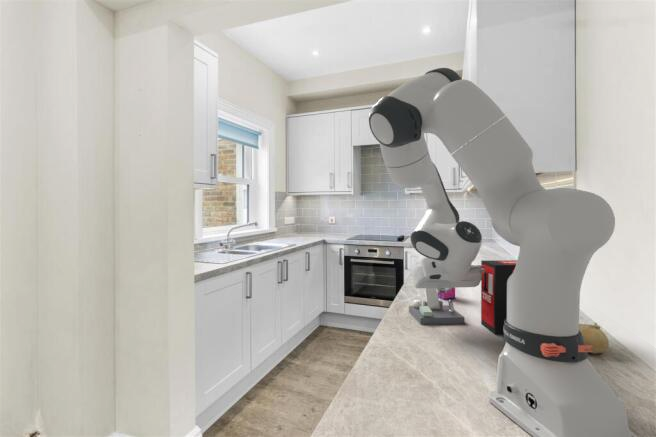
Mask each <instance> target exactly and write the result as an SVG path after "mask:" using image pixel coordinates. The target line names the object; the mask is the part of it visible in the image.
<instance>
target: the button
mask: <svg viewBox="0 0 656 437" xmlns="http://www.w3.org/2000/svg"><path fill="white" fill-rule="evenodd" d="M412 303H413V305H412V306H413V307H416V308H420V306H423V305H422V304H423V301H422V300H421V299H413V302H412Z"/></svg>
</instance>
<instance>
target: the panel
mask: <svg viewBox="0 0 656 437" xmlns="http://www.w3.org/2000/svg"><path fill="white" fill-rule="evenodd" d="M422 304H423V305H422V306H427V302H426V300H423V301H422ZM439 305H440V309H431V311H432V316H423V315H422V313H421V312H420V310H419V309H420V308H416V307H413V305H409V306H408V312H409V313H410V314H411V316H412V317H413V318H414V319H415V320H416V321H417V323H419V325H455V324H456V325H457V324H459V325H460V324H464V325H465V322H466V321H465V316H463V315H462V314H461V313H459V312H458V311H457V310H455V311H456V313H449V304H448V305H447V304H444V303H443V301H442V300H439Z"/></svg>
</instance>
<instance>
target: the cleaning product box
mask: <svg viewBox="0 0 656 437" xmlns="http://www.w3.org/2000/svg"><path fill="white" fill-rule="evenodd" d="M517 260H518V259H517ZM517 260H481V262H480V263H481V264H480V265H481V266H483V267H485V271H484V273H483V274H482V278H481V281H480V287H481V289H480V290H481V291H480V294H481V295H480V298H481V299H480V301H481V302H480V305H481V306H480V307H481V308H480V319H481V320H480V325H481V326H483V327H485V329H486V330H488V331H489V332H491V333H492V334H494V335H495V336H504V331H503V327H504V321H505V319H507V280H508V278H509V277H510V276H511V275H512V273H513V272H514V269H515V266H516V263H517Z"/></svg>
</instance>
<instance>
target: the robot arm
mask: <svg viewBox="0 0 656 437" xmlns="http://www.w3.org/2000/svg"><path fill="white" fill-rule="evenodd" d="M368 123H369V129H370V132H371V133H372V135H373V137H374V138H375V140H377V142H378V143H379V147H380V151H381V156H382V158H383V162H384V165H385V166H384V167H385V168H386V171H387V174H388V176H389V178H390V179H391V181H392V183H393V184H394V185H396V186H398V187H400V188H402V189H418V188H419V189H420V190H421V193H422V195H423V198H424V199H425V202H426V207H425V208H426V209H425V212H424V213H423V215H422V217H421V219H420V220H419V222H418V223H417V224H416V226H415V228H414V229H413V231H412V233H411V234H410V243H411V245H412V247H413V248H414V250H415V251H416V252H417V253H418V254H420V255H422V256H423V258H421V260H420V265H418V267H416V269H415V271H414V273H413V276H412V282H413V286H414V288H416V289H424V288H436V291H437V293H447V291H448V290H450V289H452V288H455V289H456V288H477V287H478V286H479V285H481V278H482V274H483V273H484V271H485V267H483V266H481V264H475V265H474V264H472V263H473V262H474V261H475V260H476V258H477V256H478V254H479V252H480V249H481V247H482V243H483V235H482V233H481V231H480V230H479V228H478V227H477V226H476V225H475V224H474V223H472V222H470V221H465V220H464V221H463V220H461V219H460V214H459V211H458V210H457V208H456V207H455V205H453V203H452V202H451V199H450V198H449V196H448V194H447V193H448V192H447V190H446V187H445V185H444V183H443V180H442V176H441V175H440V173H439V170H438V167H437V166H436V164H435V163H433V161H432V158H431V156H430V155H431V154H430V151H429V148H428V146H427V142H426V139H425V134H432V135H435V136H436V137H437V138H438V139H439V140H440V141H441V142H442V144H443V146H445V148H446V150H447V151H448V153H449V154H450V155H451V157H452V158H453V159H454V161H455V162H456V163H457V165H458V166H459V167H460V169H461V170H462V172H464V174H465V175H466V177H467V178H468V179H469V181H470V182H471V184H472V185H473V186H474V188H475V190H476V191H477V193H478V195H479V197H480V199H481V201H482V203H483V205H484V207H485V209H486V211H487V214H488V215H489V217H490V220H491V226H492V228H493V230H494V232H496V234H497V235H498V236H500V238H502V239H503V240H505V241H506V242H507V243H509V244H511V245H514V246H517V247H519V252H518V256H517V263H516V266H515V269H514V272H513V273H512V275H511V276H510V277H509V278H508V280H507V319H505V321H504V327H503V331H504V335H503V339H504V341H505V344H504V346H503V349H502V350H501V352H500V354H499V355H498V358H497V359H498V360H497V365H496V366H497V367H496V368H497V369H496V379H495V387H494V388H495V389H494V390H493V391H492V392H491V393H489V397H488V401H489V403H491V404H492V406H495V408H496V409H498V410H499V411H501V412H502V413H503V414H504V415H506V416H507V417H508V418H510V419H511V420H512V421H513V422H515V424H517V425H518V426H519V427H520V428H521V429H523V430H524V431H525V432H527V433H528V434H529V435H531V436H532V437H638V436H637V435H636V434H635V433H634V432H633V431H632V430H631V429H630V428H629V419H628V415H627V414H628V413H627V410H626V408H625V405H624V403H623V402H622V401H621V400H620V397H619V393H618V392H617V389H615V388H614V387H613V386H610V385H609V384H608V383H607V382H606V381H605V379H604V378H603V377H602V375H601V374H600V373H599V372H598V370H597V369H596V368H595V366H594V365H593V364H592V363H591V361H590V360H589V352H593V351H591V350H587V349H588V348H591V347H593V346H592V345H585V342H584V339H583V336H582V333H581V331H580V330H579V324H580V306H581V305H580V303H581V302H580V300H581V299H580V298H581V289H582V283H583V280H584V277H585V274H586V272H587V268H588V267H589V263H590V261H591V259H592V258H593V255H595V253H596V252H597V251H598V250H600V249H601V248H603V247H604V246H605V245H606V244H607V243H608V242H609V241H610V240H611V238H612V236H613V234H614V231H615V226H616V217H615V213H614V211H613V209H612V207H611V205H610V204H609V202H607V200H606V199H604V198H603V197H602V196H601V195H599V194H596V193H594V192H591V191H587V190H582V189H577V188H570V187H559V188H557V187H556V188H550V189H546V188H545V187H544V186H543V185H542V184H541V183H540V181H539V179H538V176H537V174H536V171H535V168H534V165H533V156H534V155H533V151H532V148H531V147H530V145H529V144H528V143H527V142H526V140H525V139H524V137H523V135H522V134H521V133H520V132H519V131H518V129H517V128H516V126H514V124H513V123H512V122H511V120H510V119H509V118H508V116H506V114H505V113H504V112H503V110H502V109H501V108H500V107H499V105H497V104H496V103H495V101H494V100H493V99H492V98H491V97H490V96H489V95H488V94H487V93H486V92H484V91H483V89H481V88H480V87H479V86H478V85H476V84H475V83H474V82H472V81H471V80H468V79H463V78H461V76H460V74H458V73H457V72H456V71H455V70H453V69H451V68H448V67H438V68H435V69H431V70H428V71H427V72H425V73H424V74H423V75H420V76H418V77H416V78H413V79H412V80H410V81H407V82H404V83H403V84H401V85H400V86H398V87H397V88H395V89H394V90H392V91H391V92H390V93H389V94H388V95H386V96H383V97H382V98H380V99H379V100H378V101H377V102H376V103H375V104H373V105H372V107H371V109H370V110H369V114H368Z"/></svg>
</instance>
